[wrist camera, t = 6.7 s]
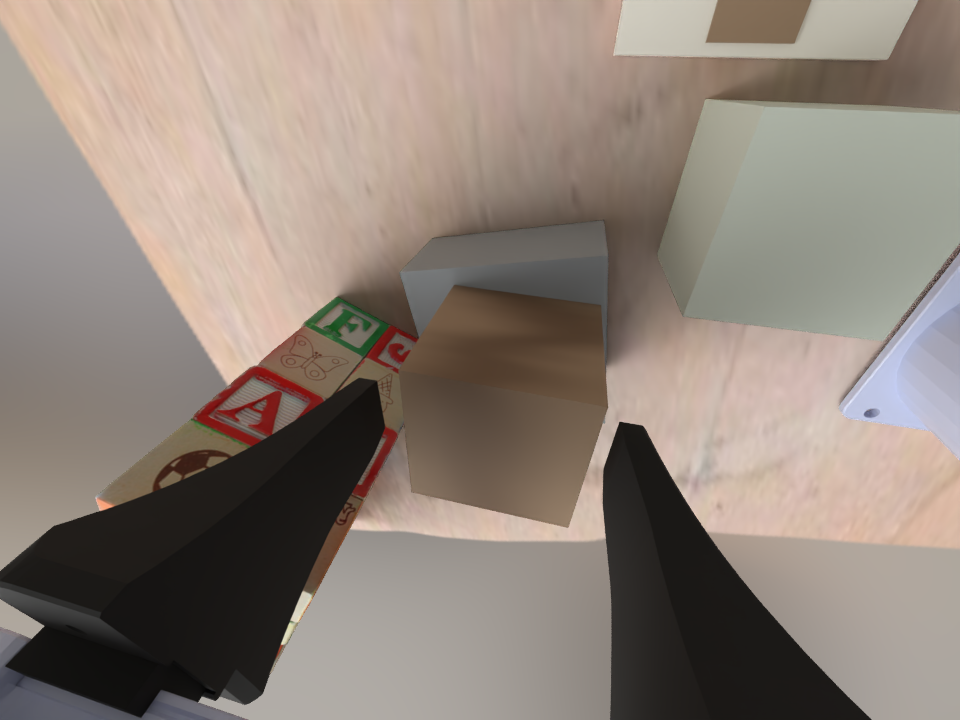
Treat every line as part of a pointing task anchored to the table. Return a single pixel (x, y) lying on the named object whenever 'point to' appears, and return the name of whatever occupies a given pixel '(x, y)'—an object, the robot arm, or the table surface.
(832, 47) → the card
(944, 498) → the table surface
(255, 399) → the stack of blocks
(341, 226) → the table surface
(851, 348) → the table surface
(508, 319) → the walnut block
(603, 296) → the slate block
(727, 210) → the sage block
